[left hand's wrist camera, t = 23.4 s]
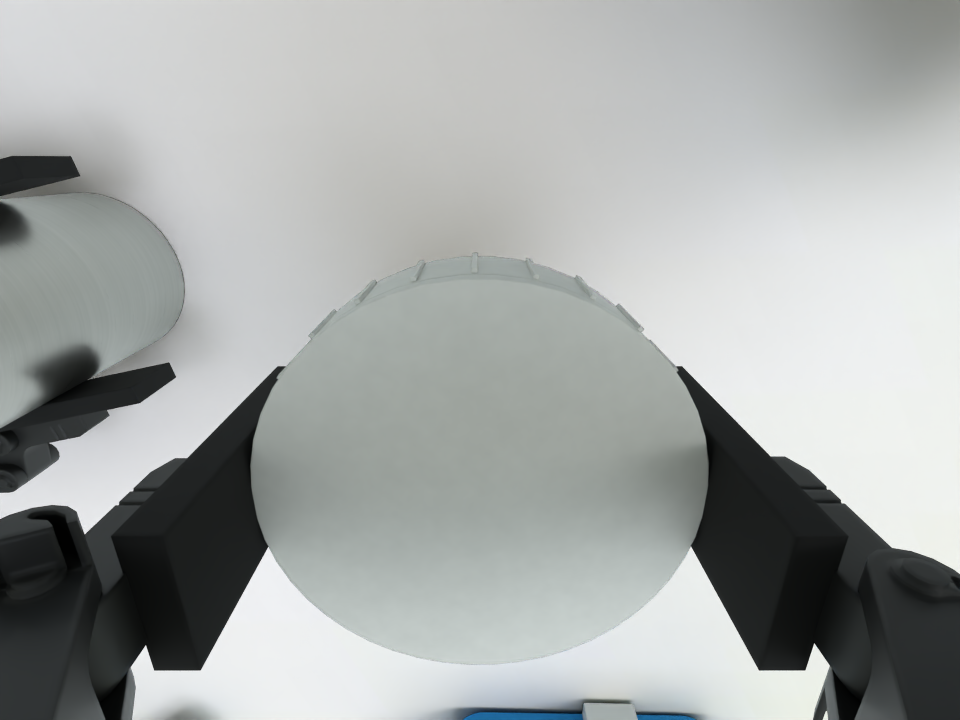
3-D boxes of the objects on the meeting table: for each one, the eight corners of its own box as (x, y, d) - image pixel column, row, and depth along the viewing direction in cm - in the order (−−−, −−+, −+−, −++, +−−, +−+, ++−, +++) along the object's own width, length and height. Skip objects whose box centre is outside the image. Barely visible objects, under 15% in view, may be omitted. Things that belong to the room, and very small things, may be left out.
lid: (526, 640, 15) (533, 719, 13) (223, 490, 13) (174, 554, 11) (755, 397, 12) (814, 446, 10) (411, 160, 10) (393, 160, 8)
